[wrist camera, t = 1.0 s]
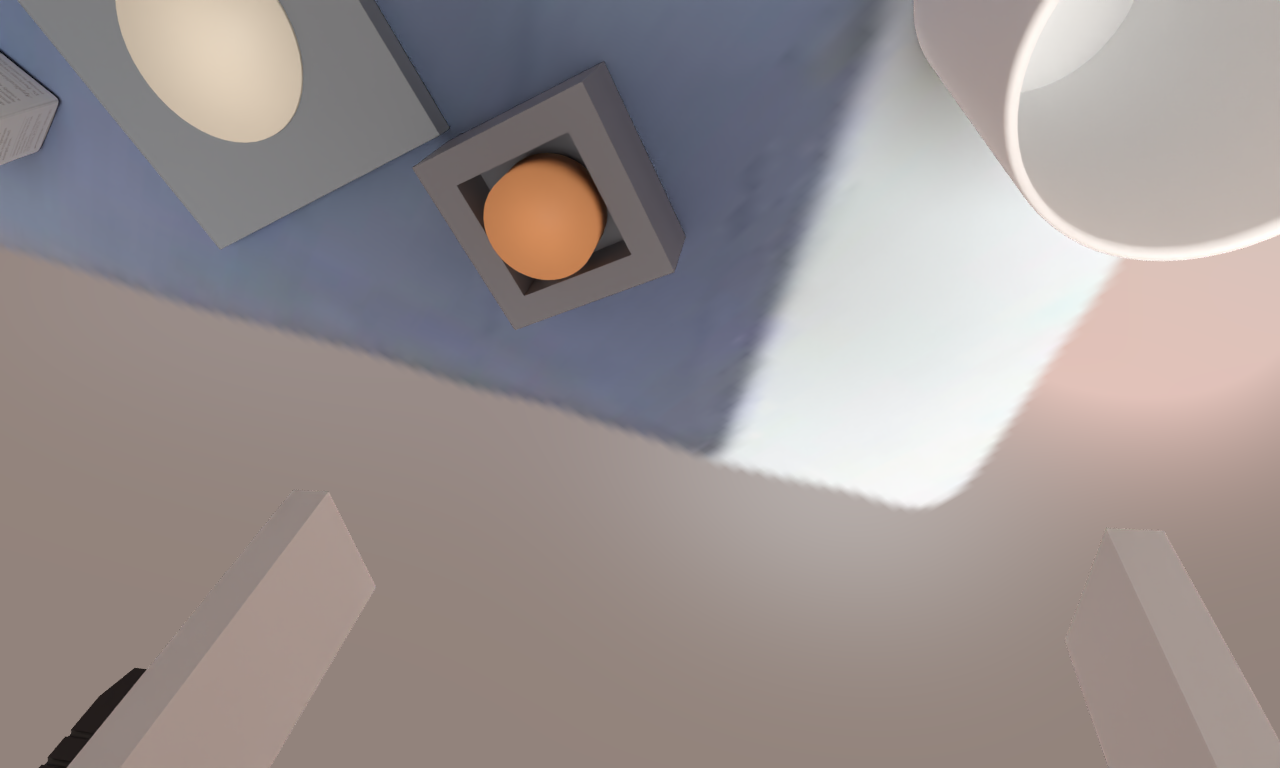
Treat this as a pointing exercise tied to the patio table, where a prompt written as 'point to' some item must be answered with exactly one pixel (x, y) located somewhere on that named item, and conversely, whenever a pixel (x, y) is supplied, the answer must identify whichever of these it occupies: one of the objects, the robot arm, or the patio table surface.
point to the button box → (617, 161)
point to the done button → (545, 216)
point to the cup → (1124, 114)
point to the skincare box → (22, 112)
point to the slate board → (247, 96)
